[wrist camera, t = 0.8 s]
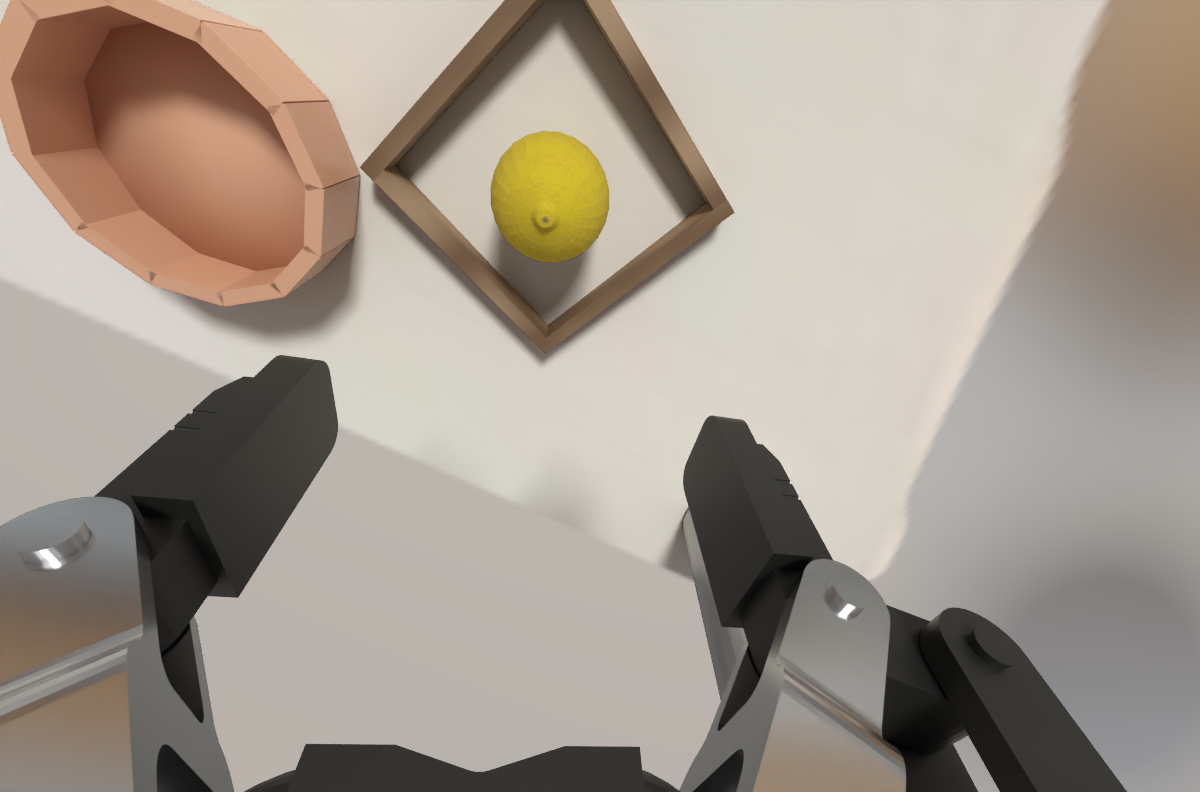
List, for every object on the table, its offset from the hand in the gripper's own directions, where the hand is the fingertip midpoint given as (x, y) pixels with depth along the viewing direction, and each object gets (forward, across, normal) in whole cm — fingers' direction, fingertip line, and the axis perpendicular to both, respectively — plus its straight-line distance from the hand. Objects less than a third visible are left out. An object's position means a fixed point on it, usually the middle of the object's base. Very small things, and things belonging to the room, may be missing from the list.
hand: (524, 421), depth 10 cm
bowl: (+20, +17, +1) cm, 26 cm away
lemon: (+19, 0, -1) cm, 19 cm away
